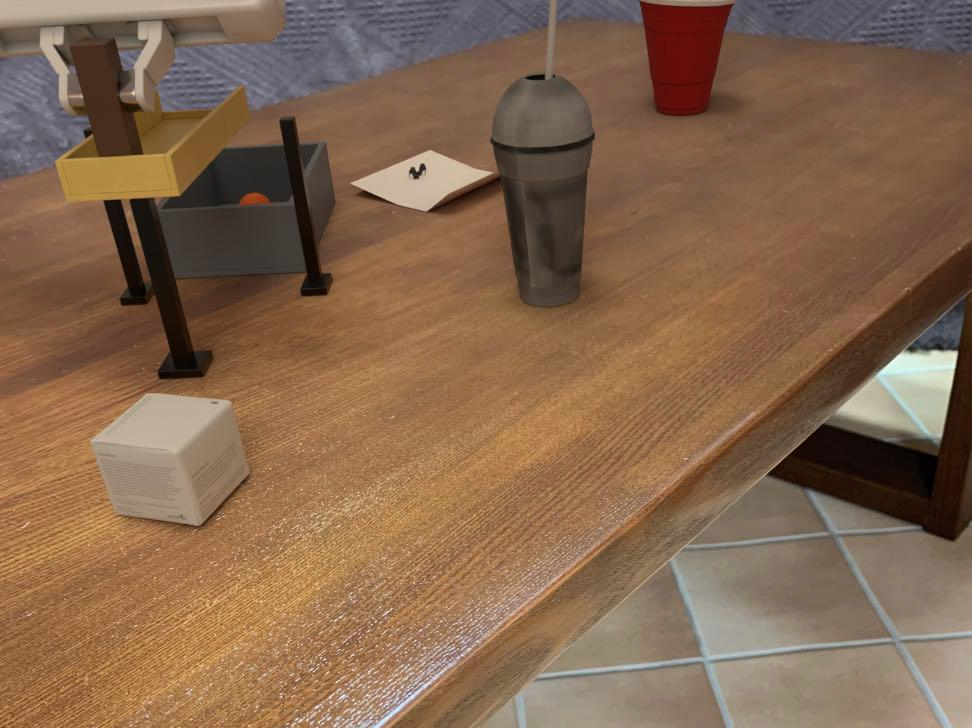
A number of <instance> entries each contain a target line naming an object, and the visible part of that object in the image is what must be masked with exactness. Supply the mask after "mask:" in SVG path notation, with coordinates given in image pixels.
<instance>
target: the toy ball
mask: <svg viewBox="0 0 972 728" xmlns="http://www.w3.org/2000/svg"><path fill="white" fill-rule="evenodd" d="M253 204H271V202H270V200H269V199H268V198H267V197H265V196H264V195H262V194H259V193H250V194H247V195H246V196H244V197H243V198H242V199H241V201H240V203H239V205H253Z"/></svg>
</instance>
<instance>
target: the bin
mask: <svg viewBox="0 0 972 728" xmlns="http://www.w3.org/2000/svg"><path fill="white" fill-rule="evenodd" d="M299 143H300V148H301V154H302V160H303V166H304V171H305V177H306V183H307V188H308V194H309V200H310V206H311V211H312V217H313V223H314V229H315V234H316V240H317V245H319V243H320V239H321V237H322V235H323V232H324V230H325V228H326V225H327V223H328V220H329V218H330V216H331V213H332V210H333V209H334V206H335V203H336V196H335V189H334V183H333V178H332V177H333V176H332V169H331V164H330V158H329V152H328V145H327V141H312V142H311V141H310V142H299ZM250 193H259V194H262V195H264V196H265V197H267V198H268V199H269V200H270V202H271V204H253V205H239V203H240V201H241V199H242V198H243V197H244V196H246V195H247V194H250ZM156 206H157V210H158V214H159V218H160V222H161V226H162V230H163V234H164V237H165V241H166V245H167V249H168V253H169V257H170V261H171V264H172V268H173V272H174V276H175V280H176V279H189V278H190V279H192V278H193V279H194V278H211V277H212V278H213V277H230V276H250V275H268V274H269V275H270V274H288V273H291V274H292V273H307V271H306V265H305V260H304V254H303V249H302V243H301V238H300V232H299V227H298V221H297V216H296V210H295V205H294V200H293V194H292V189H291V183H290V178H289V172H288V167H287V161H286V156H285V150H284V145H283V143H274V144H273V143H272V144H271V143H270V144H254V145H237V146H233V145H232V146H225V147H224V148H223V150H222V151H221V152H220V153H219V154H218V155H217V156H216V157H215V158H214V159H213V160H212V162H211V163H210V164H209V165H208V166H207V167H206V168H205V169H204V170H203V171H202V172H201V174H200V175H199V176H198V177H197V178H196V179H195V180H194V181H193V182H192V183H191V184H190V186H189V187H188V188H187V189H186V190H185V191H184V192H183V193H182V194H181V195H180V196H173V197H161V199H160V201H159V202H158V203H157V204H156Z"/></svg>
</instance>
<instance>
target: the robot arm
mask: <svg viewBox="0 0 972 728" xmlns="http://www.w3.org/2000/svg"><path fill="white" fill-rule="evenodd" d="M286 25H287V8H286V0H0V59H1V58H15V57H17V58H18V57H32V56H45V58H46V59H47V61H48V63H49V64H50V66H51V67H52V69H53V70H54V73H56V76H58V101H59V104H60V106H61V108H62V109H63V110H64V111H65V113H67V115H68V117H80V116H81V117H82V116H88V115H87V111H86V107H85V104H84V100H83V96H82V93H81V89H80V85H79V81H78V78H77V74H76V72H73V70H72V68H71V67H75V66H74V63H73V59H72V55H71V51H70V48H69V45H71V44H73V43H75V42H77V41H79V40H81V39H99V38H115V40H116V44H117V48H118V52H119V51H135V50H136V51H137V50H141V53H140V54H139V56H138V57H137V59H136V62H135V63H134V65H133V67H132V69H126V70H124V69H123V71H119V76H118V82H119V83H120V84H121V86H120V87H119V88H118V95H119V99H120V102H121V104H122V105H123V106H125V107H126V111H127V112H128V113H138V112H153V111H154V110H155V90H156V87H158V86H159V85H160V83H161V82H162V80H163V78H164V77H165V76H166V74H167V73H168V71H169V70H170V68H171V67H172V65H173V64H174V63H175V61H176V59H175V58H176V56H175V55H176V48H186V47H200V46H201V47H202V46H203V47H205V46H219V45H238V44H240V45H241V44H254V43H255V44H256V43H270V42H273V41H275V40H276V39H277V37H278V36H279V35H280V34H281V32H283V30H284V29H285V27H286Z"/></svg>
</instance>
